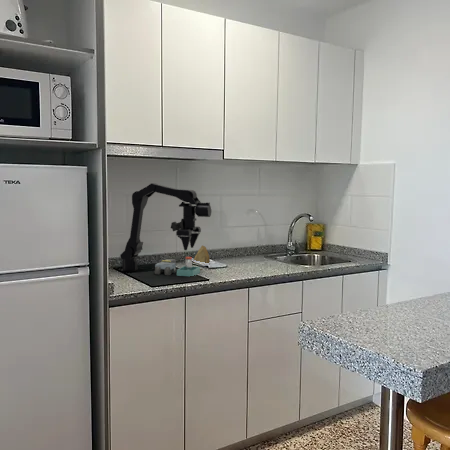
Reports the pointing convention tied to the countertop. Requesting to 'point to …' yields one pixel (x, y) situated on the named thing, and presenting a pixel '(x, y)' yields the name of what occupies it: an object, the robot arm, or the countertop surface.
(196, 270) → the tray
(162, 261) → the block
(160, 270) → the trolley
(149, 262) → the countertop surface
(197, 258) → the rock
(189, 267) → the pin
